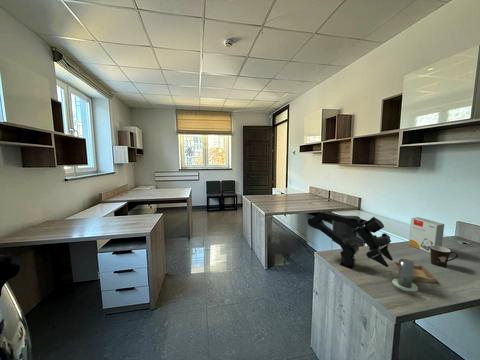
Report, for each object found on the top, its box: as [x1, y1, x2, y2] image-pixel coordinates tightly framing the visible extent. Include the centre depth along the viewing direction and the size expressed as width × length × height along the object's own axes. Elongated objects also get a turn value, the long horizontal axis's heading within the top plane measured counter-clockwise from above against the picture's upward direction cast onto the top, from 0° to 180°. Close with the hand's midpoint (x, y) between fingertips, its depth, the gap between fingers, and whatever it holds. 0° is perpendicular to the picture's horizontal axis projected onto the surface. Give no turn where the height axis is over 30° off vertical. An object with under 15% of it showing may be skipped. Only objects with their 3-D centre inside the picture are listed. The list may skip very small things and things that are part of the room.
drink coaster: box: [391, 277, 419, 292], centre depth 103 cm, size 10×10×1 cm
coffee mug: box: [429, 245, 458, 268], centre depth 119 cm, size 12×9×10 cm
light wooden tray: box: [392, 261, 437, 284], centre depth 112 cm, size 14×14×2 cm
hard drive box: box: [408, 216, 445, 254], centre depth 140 cm, size 16×8×20 cm, turn 17°
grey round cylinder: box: [397, 258, 415, 288], centre depth 102 cm, size 6×6×12 cm
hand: (390, 263), depth 106 cm, fingers open, 9 cm apart
